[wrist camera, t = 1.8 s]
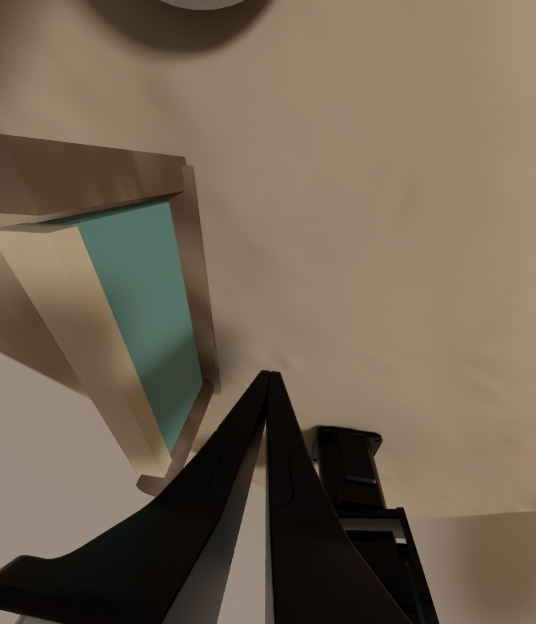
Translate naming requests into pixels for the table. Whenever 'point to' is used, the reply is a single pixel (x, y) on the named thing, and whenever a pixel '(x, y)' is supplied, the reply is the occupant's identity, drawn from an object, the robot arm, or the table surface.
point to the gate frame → (111, 189)
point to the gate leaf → (117, 318)
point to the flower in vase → (202, 4)
